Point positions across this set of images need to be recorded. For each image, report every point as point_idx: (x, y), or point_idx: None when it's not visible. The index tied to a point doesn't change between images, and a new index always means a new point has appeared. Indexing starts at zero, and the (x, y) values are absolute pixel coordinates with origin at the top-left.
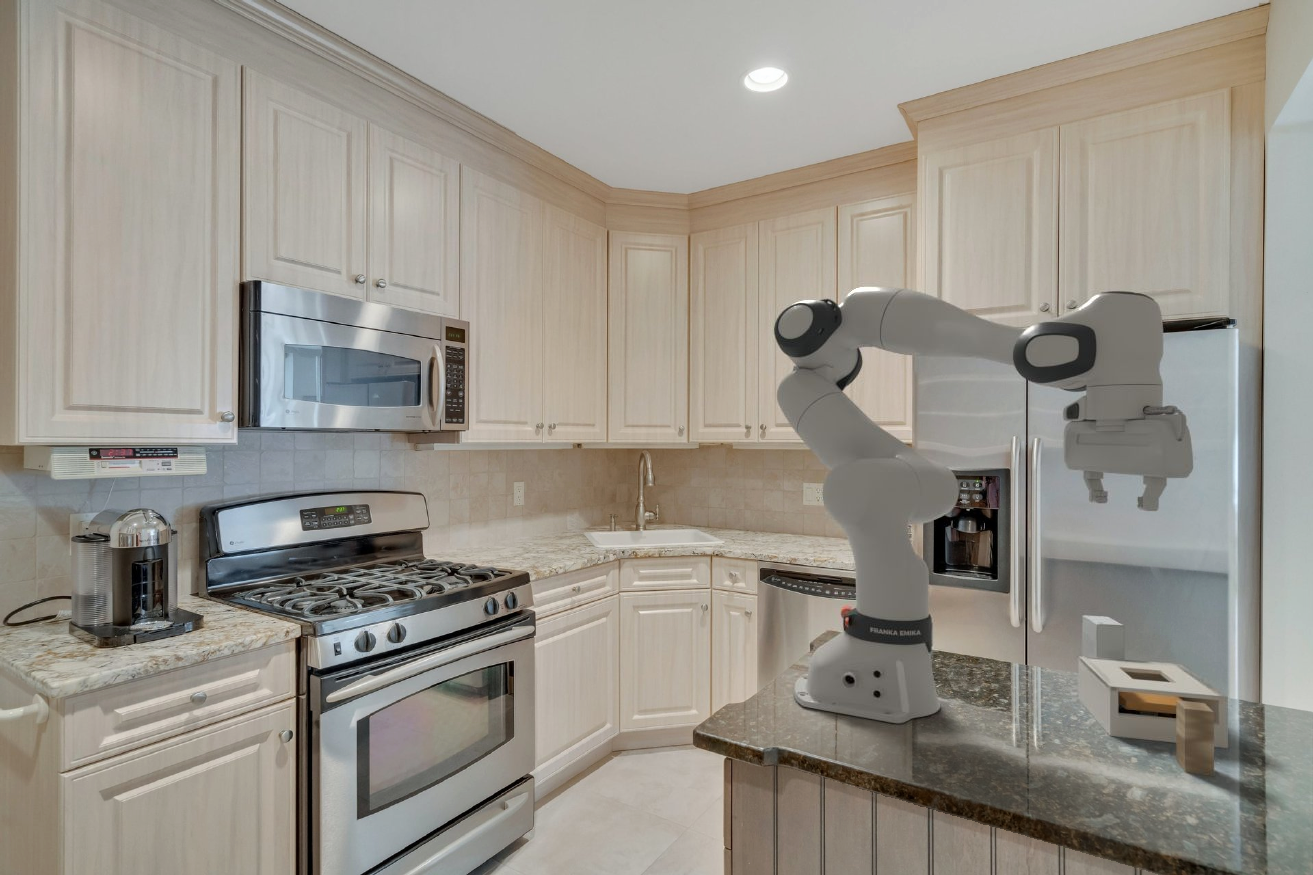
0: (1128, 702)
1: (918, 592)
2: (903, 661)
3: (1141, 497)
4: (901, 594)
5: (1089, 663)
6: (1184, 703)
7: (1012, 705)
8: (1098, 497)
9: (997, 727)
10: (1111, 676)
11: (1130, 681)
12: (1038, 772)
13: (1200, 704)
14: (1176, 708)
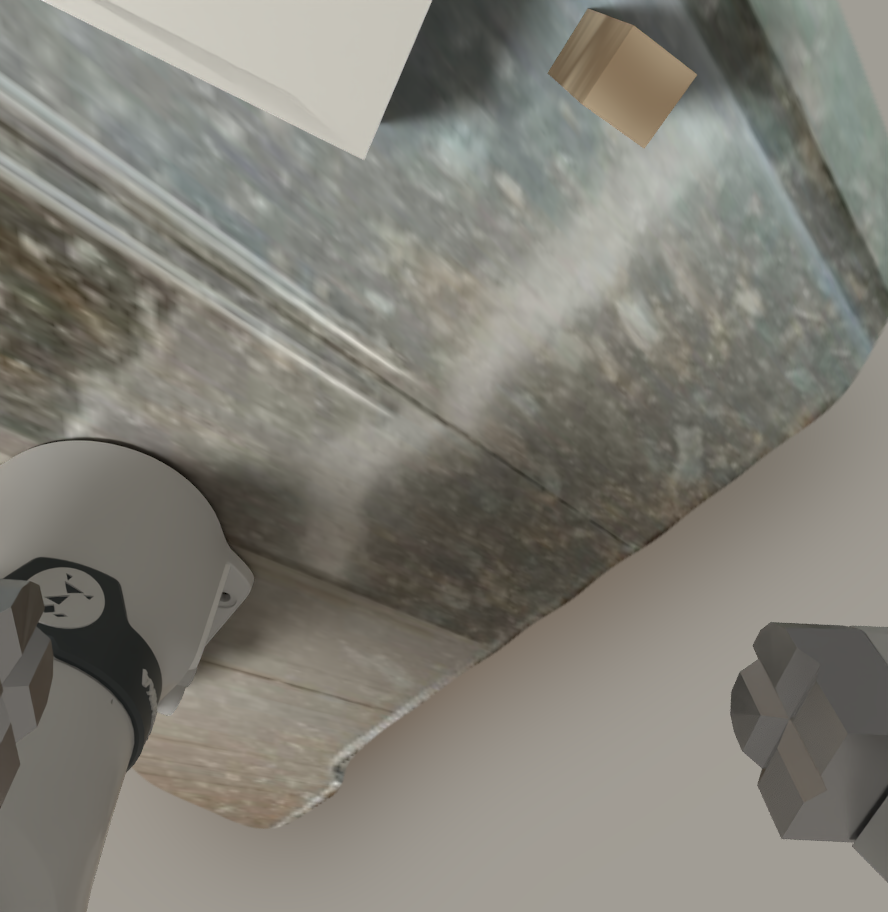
0: None
1: (92, 787)
2: (190, 658)
3: (838, 836)
4: (109, 822)
5: (95, 10)
6: (612, 105)
7: (127, 253)
8: (13, 714)
9: (284, 390)
10: (263, 57)
11: (325, 28)
12: (511, 444)
13: (638, 55)
14: (577, 99)
